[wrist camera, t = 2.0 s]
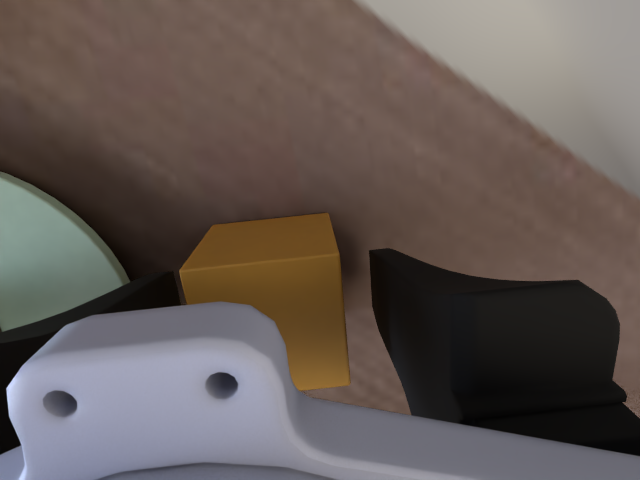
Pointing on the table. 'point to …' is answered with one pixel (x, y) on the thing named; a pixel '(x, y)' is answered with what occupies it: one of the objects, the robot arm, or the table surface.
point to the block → (280, 288)
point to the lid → (48, 257)
